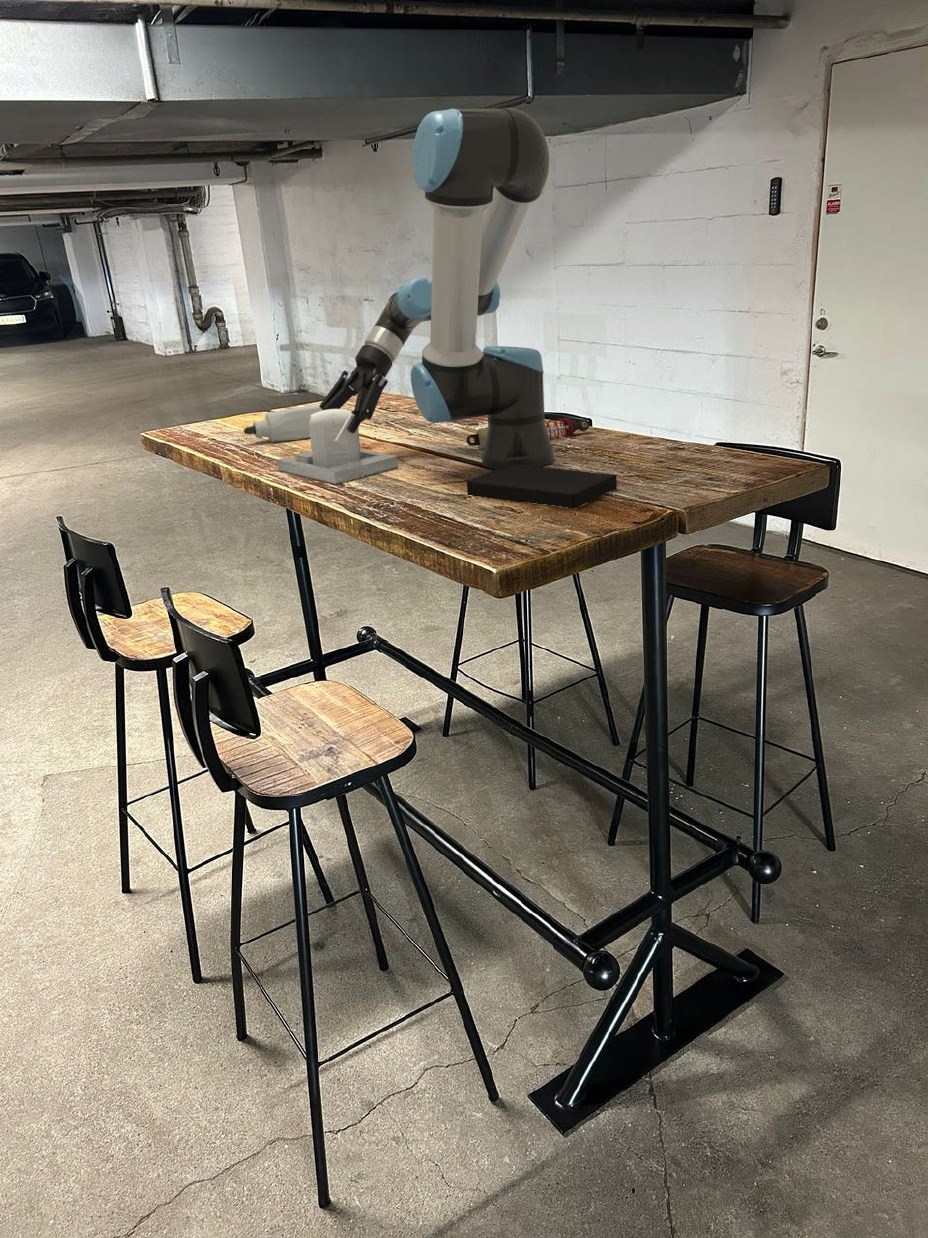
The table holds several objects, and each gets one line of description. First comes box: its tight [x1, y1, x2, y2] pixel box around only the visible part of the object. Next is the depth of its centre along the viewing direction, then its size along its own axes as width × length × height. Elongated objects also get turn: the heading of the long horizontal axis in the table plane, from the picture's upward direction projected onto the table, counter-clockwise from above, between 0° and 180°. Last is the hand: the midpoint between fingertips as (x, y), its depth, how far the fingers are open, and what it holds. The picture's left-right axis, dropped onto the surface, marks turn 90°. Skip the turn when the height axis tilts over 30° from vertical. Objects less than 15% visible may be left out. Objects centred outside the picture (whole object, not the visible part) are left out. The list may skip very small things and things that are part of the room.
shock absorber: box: [466, 417, 590, 450], centre depth 202 cm, size 5×5×30 cm
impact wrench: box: [243, 404, 323, 443], centre depth 233 cm, size 8×23×25 cm
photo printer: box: [309, 408, 361, 468], centre depth 188 cm, size 10×4×12 cm, turn 101°
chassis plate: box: [276, 448, 399, 485], centre depth 191 cm, size 22×16×2 cm
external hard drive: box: [466, 464, 618, 508], centre depth 162 cm, size 14×23×3 cm, turn 52°
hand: (326, 441), depth 188 cm, fingers open, 9 cm apart
